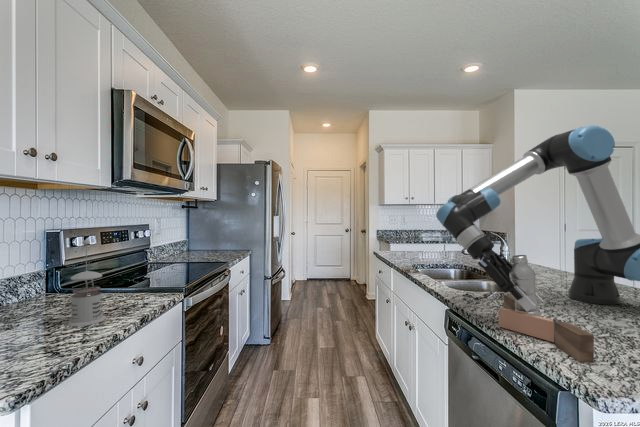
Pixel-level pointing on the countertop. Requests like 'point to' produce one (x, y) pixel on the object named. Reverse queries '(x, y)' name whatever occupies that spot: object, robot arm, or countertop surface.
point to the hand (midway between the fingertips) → (535, 306)
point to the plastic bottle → (524, 282)
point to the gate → (528, 324)
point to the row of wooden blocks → (567, 337)
